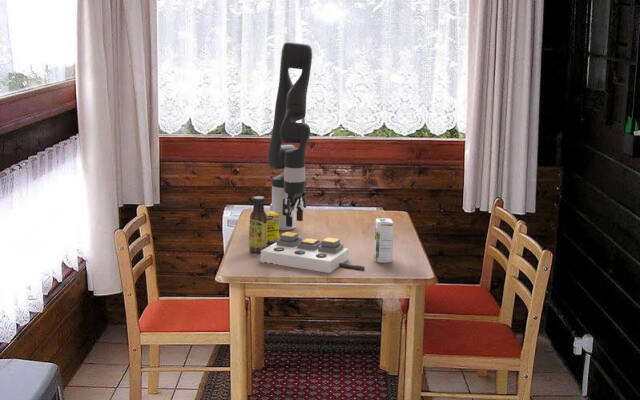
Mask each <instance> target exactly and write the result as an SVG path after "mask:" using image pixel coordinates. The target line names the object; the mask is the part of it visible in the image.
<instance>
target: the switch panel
mask: <svg viewBox="0 0 640 400" xmlns="http://www.w3.org/2000/svg"><path fill="white" fill-rule="evenodd" d="M305 239H306V238H304V239H303V238H302V237H298V239H297V240H295V241H293V242H288V241H281V240H280V238H279V240H277V242H276V243H271V244H270V245H269V246H266V248H265V249H263V250H261V253H260V262H261V261H262V262H261V263H264V262H267V263H266V264H270V263H273V264H272V265H276V264H278V265H277V266H283V267H284V266H285V267H291V268H296V269H302V270H309V271H316V272H320V273H326V274H327V273H328V274H331V273H332V272H333V271H335V270H336V269H337V268H339V267H341V268H347V269H354V270H361V271H364V270H366V269H365V268H366V267H365V266H364V265H363V266H362V265H357V264H350V263H346V262H348V261H349V248H346V247H345V248H344V244H343V243H340V245H339V246H337V247H336V248H330V247H323V246H322V241H323V240H319V243H317V244H316V245H314V246H313V245H306V244H301V241H303V240H305Z"/></svg>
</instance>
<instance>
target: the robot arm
mask: <svg viewBox="0 0 640 400" xmlns="http://www.w3.org/2000/svg"><path fill="white" fill-rule="evenodd" d="M280 53H281V54H280V64H279V65H280V66H279V67H280V68H279V79H278V81H279V82H278V89H277V94H276V95H277V96H276V100H275V108H274V117H273V118H274V119H273V124H272V125H273V127H272V133H271V137H270V141H269V146H268V152H267V164H268V167H269V168H270V169H272V170H283V169H284V170H283V171H282V172H281V173H279V174H278V175H276V176H274V177H272V179H271V203H270V204H269V212H271V211H273V212H275V213H277V214H279V231H291V230H294V229H295V228H296V222H303V220H304V211H305V209H306V208H307V192H306V150H307V146H308V142H309V141H310V140H309V139H310V137H311V127H310V126H309V124H308V123H306V122H297V121H300V120H301V121H302V120H303V119H304V118H305V117H306V116H307V115H306V114H307V93H308V89H309V88H308V86H309V82H310V76H311V71H312V70H311V69H312V63H313V48H312V46H311V45H310V44H307V43H300V42H291V41H285V42H284V43H283V45H282V47H281V52H280ZM289 69H296V70H301V74H300V76H299V78H298V79H297V80H296V81H295V83H294V84H293V81H292V79H291V76H290V71H289ZM283 143H285V144H283ZM286 143H287V144H286ZM289 143H291V144H289ZM293 144H299V145H298V147H296V146H295V145H293Z"/></svg>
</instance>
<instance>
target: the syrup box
mask: <svg viewBox="0 0 640 400" xmlns="http://www.w3.org/2000/svg"><path fill="white" fill-rule="evenodd" d="M394 224H395V223H394V222H393V220H392V219H391V218H386V217H385V218H383V217H380V218H375V226H374V228H375V229H374V245H373V250H374V251H373V259H374V261H375V263H377V264H378V263H382V264H383V263H392V262H393V248H394V247H393V243H394V241H393V240H394Z"/></svg>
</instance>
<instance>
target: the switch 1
mask: <svg viewBox="0 0 640 400" xmlns="http://www.w3.org/2000/svg"><path fill="white" fill-rule="evenodd" d="M298 238H299V233H298V232H291V231H285V232H283V233H282V234H279V239H280V240H281V241H288V242H293V241H295V240H297V239H298Z"/></svg>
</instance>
